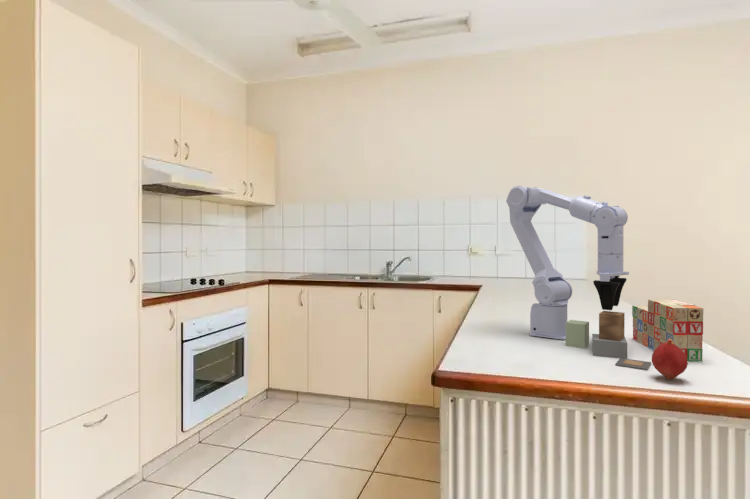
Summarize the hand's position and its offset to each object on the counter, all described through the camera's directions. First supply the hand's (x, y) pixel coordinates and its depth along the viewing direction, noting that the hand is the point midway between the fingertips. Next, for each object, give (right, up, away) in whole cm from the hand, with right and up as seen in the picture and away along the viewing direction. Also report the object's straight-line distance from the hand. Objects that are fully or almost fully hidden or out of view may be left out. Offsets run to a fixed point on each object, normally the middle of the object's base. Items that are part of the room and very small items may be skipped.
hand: (610, 307), depth 110 cm
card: (-3, -10, -15) cm, 19 cm away
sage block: (-7, -10, +2) cm, 13 cm away
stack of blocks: (+12, -10, -3) cm, 16 cm away
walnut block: (-3, -6, -6) cm, 9 cm away
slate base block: (-4, -10, -6) cm, 12 cm away
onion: (-2, -11, -25) cm, 27 cm away
